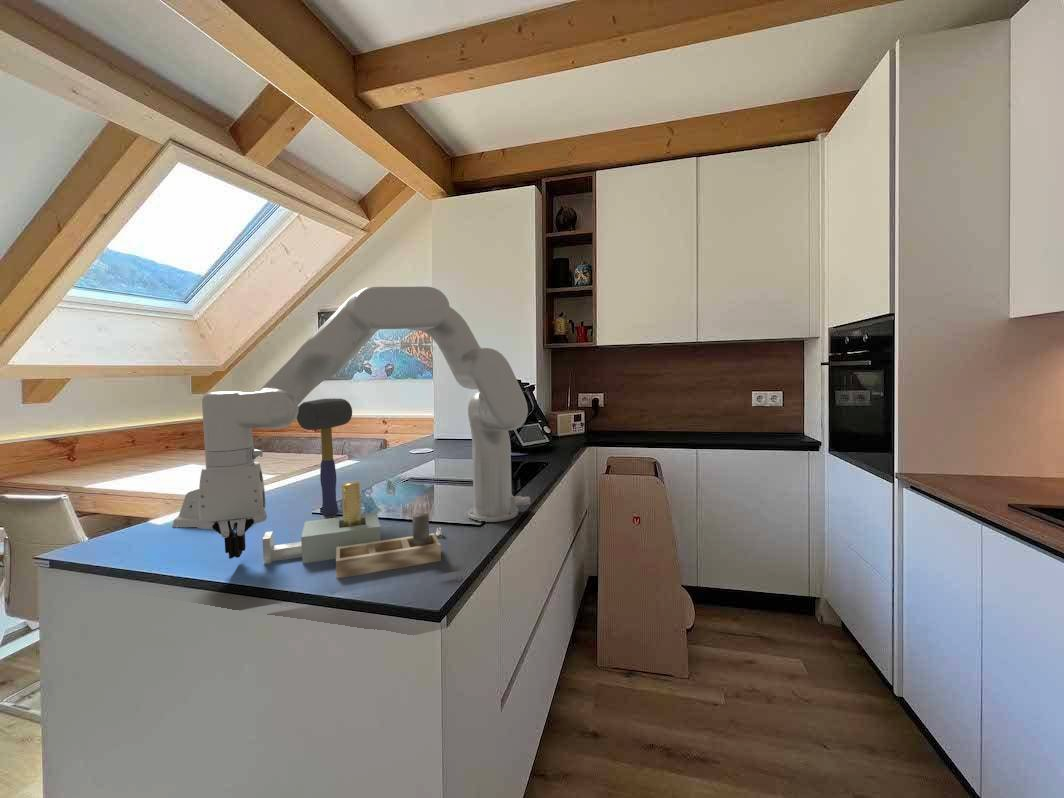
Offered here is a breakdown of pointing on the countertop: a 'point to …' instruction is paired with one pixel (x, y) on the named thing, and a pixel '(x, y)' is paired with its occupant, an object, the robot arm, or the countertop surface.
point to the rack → (390, 551)
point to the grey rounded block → (191, 512)
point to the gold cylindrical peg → (351, 504)
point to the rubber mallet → (326, 441)
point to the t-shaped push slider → (279, 549)
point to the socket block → (336, 536)
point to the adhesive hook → (439, 532)
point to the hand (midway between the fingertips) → (235, 555)
